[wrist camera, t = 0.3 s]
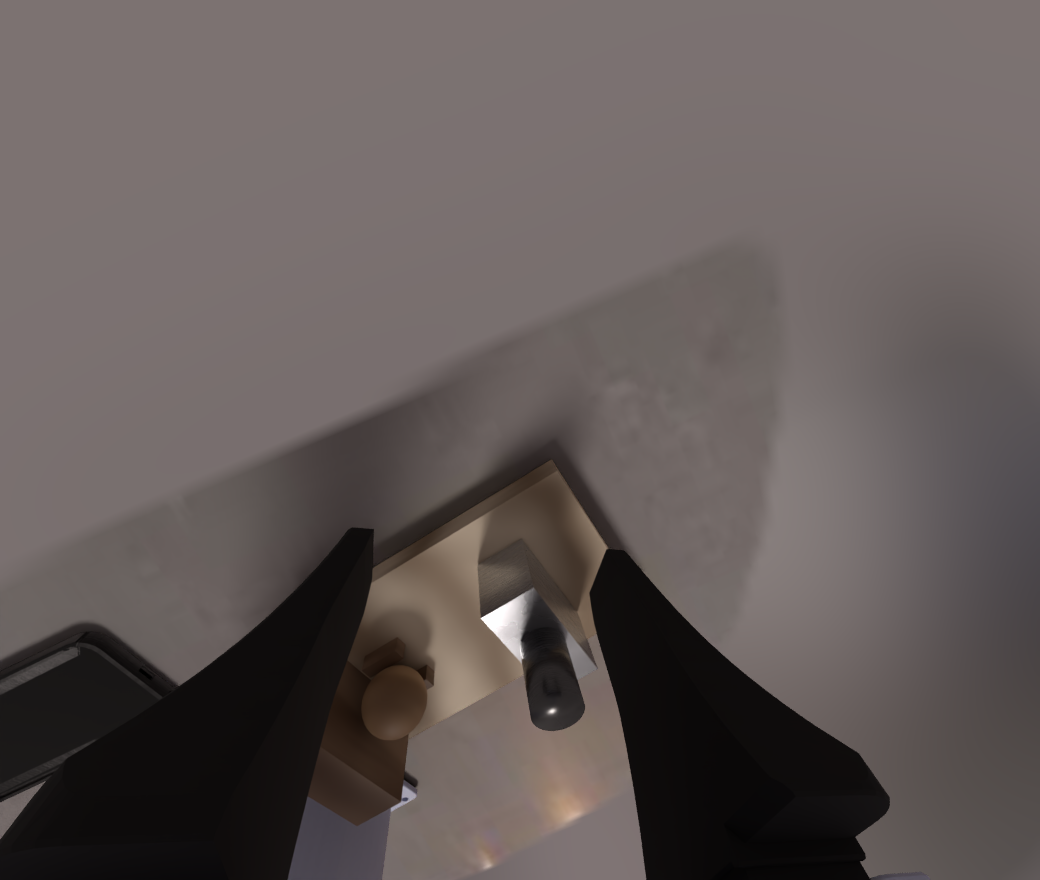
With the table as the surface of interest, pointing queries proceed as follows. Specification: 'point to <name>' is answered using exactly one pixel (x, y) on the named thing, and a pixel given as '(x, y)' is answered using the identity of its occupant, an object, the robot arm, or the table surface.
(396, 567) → the base
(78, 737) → the phone
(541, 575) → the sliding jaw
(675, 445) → the table surface
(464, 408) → the table surface
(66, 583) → the table surface
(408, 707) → the walnut
